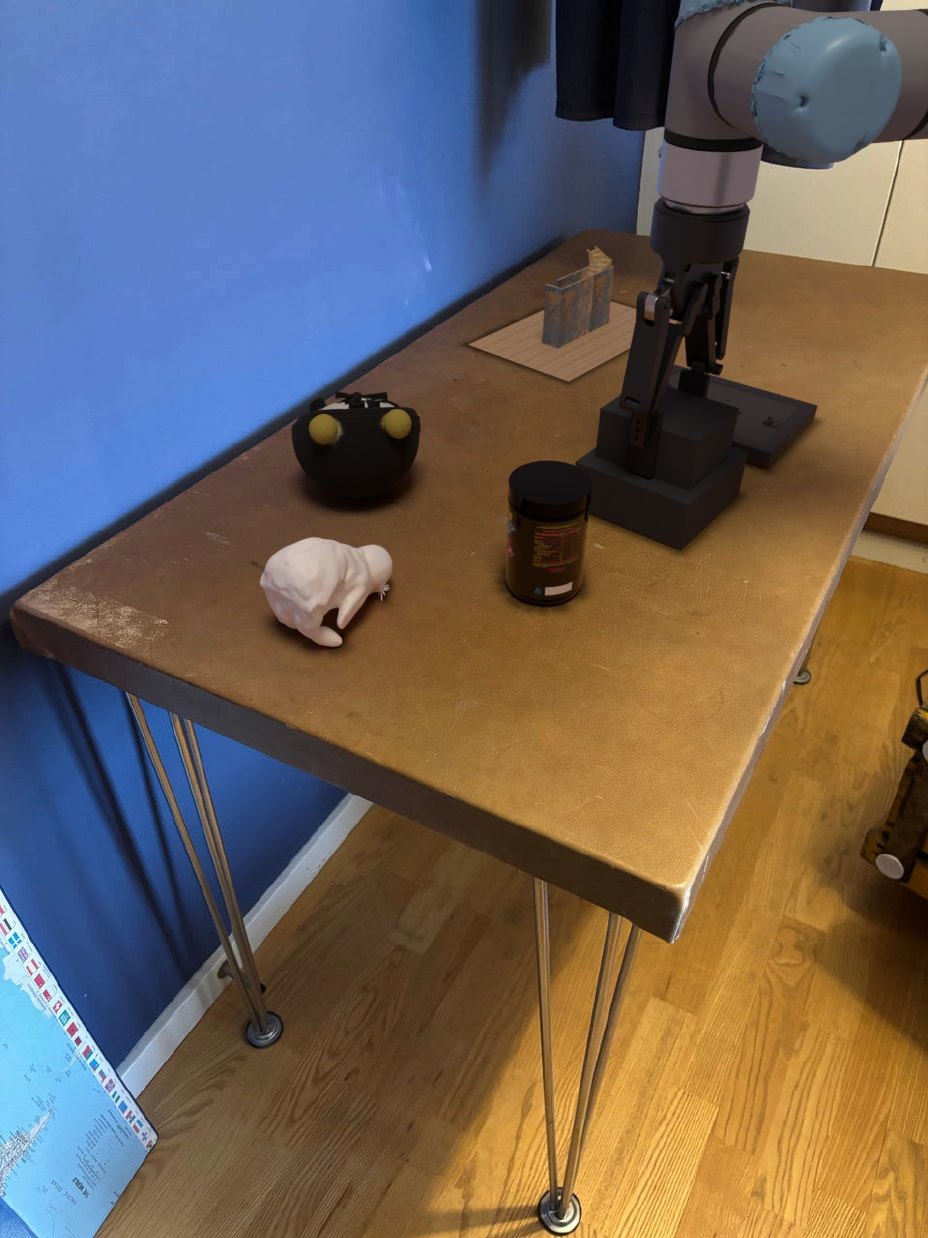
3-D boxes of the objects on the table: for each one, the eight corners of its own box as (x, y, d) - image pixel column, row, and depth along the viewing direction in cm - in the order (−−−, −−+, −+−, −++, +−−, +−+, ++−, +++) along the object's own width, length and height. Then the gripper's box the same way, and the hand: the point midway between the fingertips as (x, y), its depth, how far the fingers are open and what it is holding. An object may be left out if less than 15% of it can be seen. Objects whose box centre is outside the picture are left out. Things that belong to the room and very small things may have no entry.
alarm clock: (424, 490, 98) (473, 390, 87) (337, 560, 89) (378, 459, 78) (344, 422, 100) (381, 315, 88) (250, 484, 91) (277, 373, 79)
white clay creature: (248, 545, 69) (358, 492, 77) (256, 635, 74) (359, 576, 82) (306, 576, 66) (415, 517, 74) (311, 668, 71) (412, 604, 79)
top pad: (729, 455, 87) (739, 407, 84) (689, 491, 82) (698, 441, 79) (637, 424, 92) (644, 378, 88) (595, 456, 87) (600, 408, 84)
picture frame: (617, 420, 103) (766, 469, 95) (619, 401, 101) (771, 449, 93) (672, 379, 111) (814, 420, 103) (675, 361, 110) (819, 402, 101)
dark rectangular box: (738, 495, 91) (748, 451, 87) (680, 550, 83) (689, 504, 80) (633, 457, 96) (639, 414, 93) (571, 506, 89) (575, 461, 86)
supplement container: (557, 554, 83) (565, 453, 76) (596, 595, 78) (608, 492, 72) (491, 573, 81) (493, 471, 74) (527, 617, 76) (533, 512, 69)
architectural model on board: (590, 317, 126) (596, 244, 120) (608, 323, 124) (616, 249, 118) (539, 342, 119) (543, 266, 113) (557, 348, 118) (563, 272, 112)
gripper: (719, 165, 80) (680, 402, 95) (591, 222, 68) (569, 486, 82) (801, 179, 76) (747, 424, 91) (682, 243, 64) (641, 514, 79)
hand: (662, 453), depth 87 cm, fingers closed on top pad, 8 cm apart
